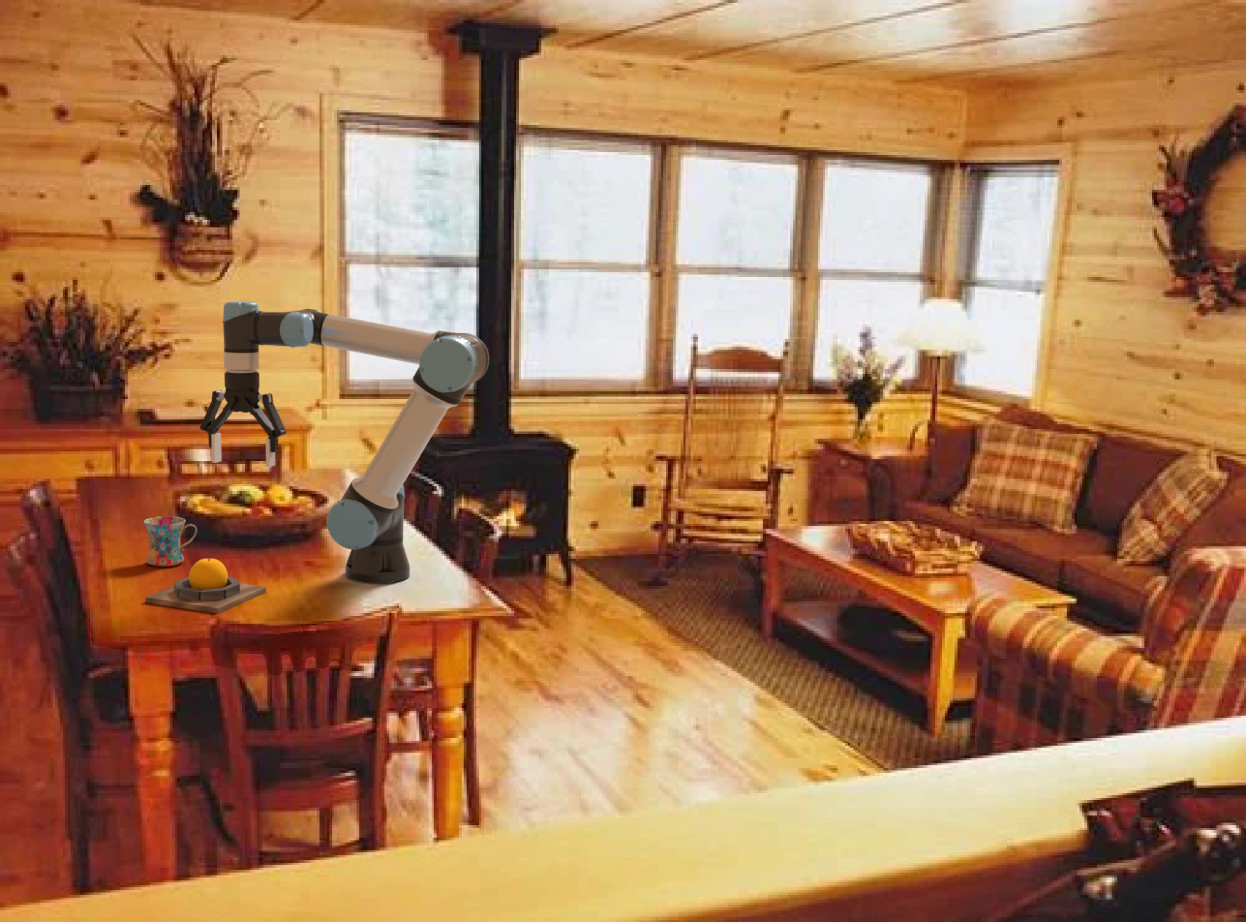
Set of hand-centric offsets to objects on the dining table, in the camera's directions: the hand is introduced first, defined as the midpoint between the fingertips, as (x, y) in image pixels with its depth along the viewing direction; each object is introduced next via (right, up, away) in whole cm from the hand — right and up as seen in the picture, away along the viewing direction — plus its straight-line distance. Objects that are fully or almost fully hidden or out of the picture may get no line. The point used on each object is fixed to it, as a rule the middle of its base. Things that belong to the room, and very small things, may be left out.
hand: (243, 464), depth 281 cm
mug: (-22, -24, +15) cm, 36 cm away
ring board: (-5, -29, -10) cm, 31 cm away
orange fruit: (-5, -28, -10) cm, 30 cm away
